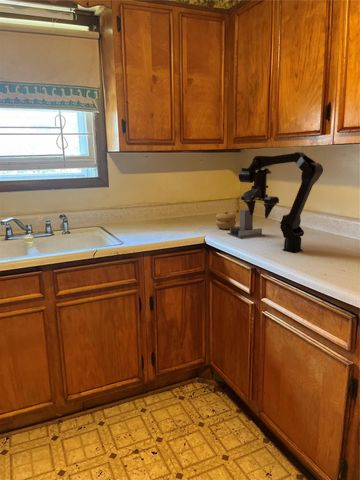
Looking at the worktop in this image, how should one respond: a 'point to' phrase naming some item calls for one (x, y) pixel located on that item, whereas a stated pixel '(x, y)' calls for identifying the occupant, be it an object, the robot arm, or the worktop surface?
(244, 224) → the gray rectangular block
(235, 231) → the bracket
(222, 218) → the pot
